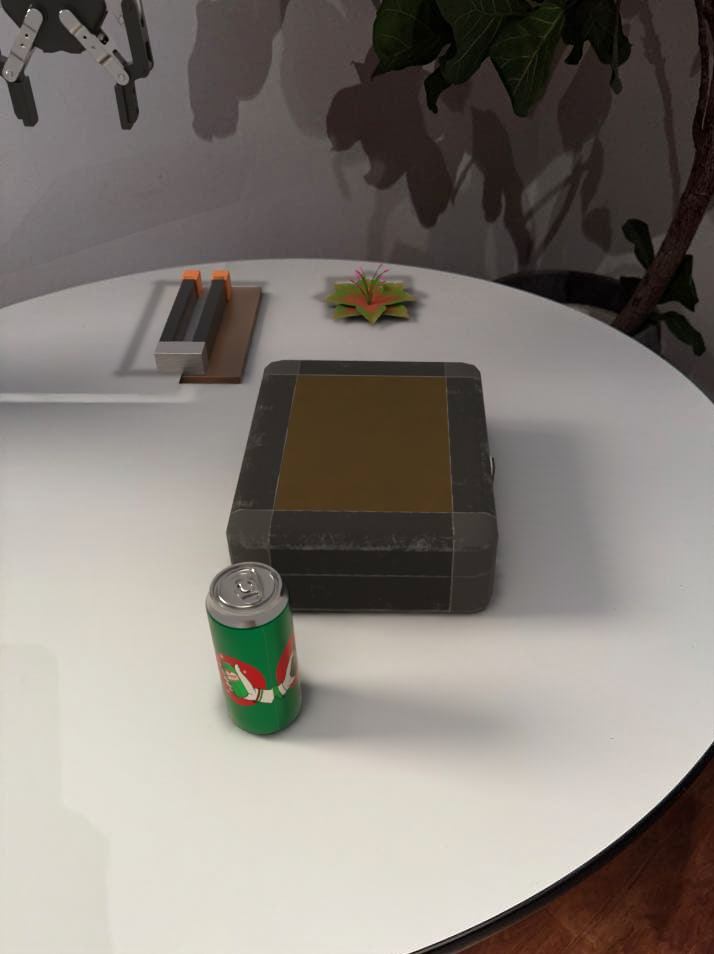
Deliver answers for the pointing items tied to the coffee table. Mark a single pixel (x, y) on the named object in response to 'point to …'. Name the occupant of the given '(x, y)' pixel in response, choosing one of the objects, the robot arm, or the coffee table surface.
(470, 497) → the cash box
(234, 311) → the board
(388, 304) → the lily flower
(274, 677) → the soda can
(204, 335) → the tongs
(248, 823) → the coffee table surface
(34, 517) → the coffee table surface
